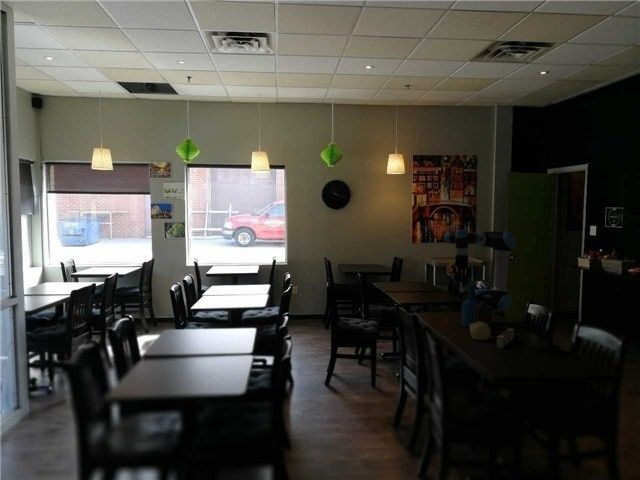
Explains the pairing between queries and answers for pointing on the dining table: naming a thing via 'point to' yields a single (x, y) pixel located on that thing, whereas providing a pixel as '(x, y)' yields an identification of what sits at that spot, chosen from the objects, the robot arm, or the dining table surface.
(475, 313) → the canister
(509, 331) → the board
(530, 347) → the dining table surface
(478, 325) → the sculpture
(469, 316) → the wine bottle
